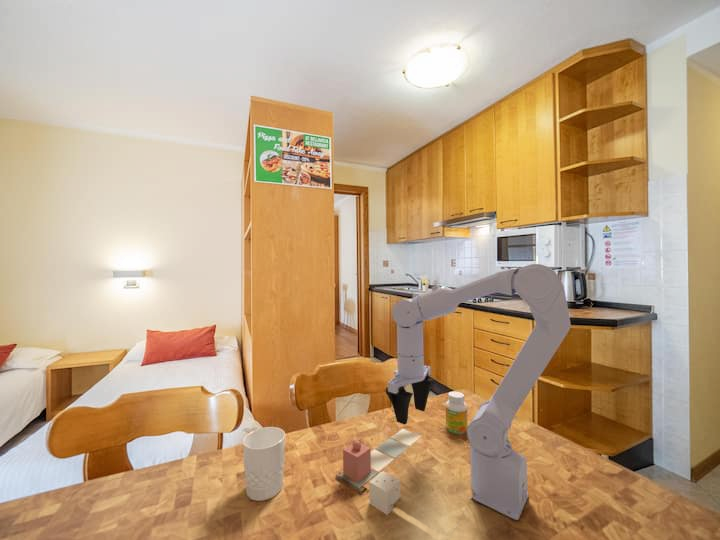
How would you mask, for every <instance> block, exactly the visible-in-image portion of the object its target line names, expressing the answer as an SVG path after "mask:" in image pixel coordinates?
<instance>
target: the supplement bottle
mask: <svg viewBox="0 0 720 540" xmlns="http://www.w3.org/2000/svg"><path fill="white" fill-rule="evenodd" d="M468 425H469V424H468V405H467V403H466V402H465V394H463V393H462V392H459V391H449V392H448V400H447V401H446V403H445V428H446V430H447V431H448V432H450V433H452V434H456V435H464V434H467V428H468Z"/></svg>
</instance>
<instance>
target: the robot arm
mask: <svg viewBox="0 0 720 540" xmlns="http://www.w3.org/2000/svg"><path fill="white" fill-rule="evenodd" d="M497 293H499V294H502V295H507V296H513V295H516V294H517V295H518V296H519V297H520V298H521V299H522V301H523V302H524V303H525V304H526V305H527V306H528V307H529V310H530V312H531V315H532V317H533V319H534V321H535V325H534V327H533V329H532V330H531V332H530V333H529V335H528V337H526V340H525V342H524V343H523V345H522V347H521V348H520V350H519V352H518V353H517V355H516V356H515V359H514V360H513V362H512V363H511V365H510V366H509V368H508V370H507V371H506V373H505V375H504V376H503V378H502V380H501V382H500V383H499V385H498V386H497V388H496V389H495V391H494V393H493V394H492V395H491V397H490V398H489V400H487V401H484V402H483V403H481V404H480V405H479V407H478V409H477V412H476V413H475V416H474V417H473V419H472V420H470V422H469V424H468V428H467V432H466V434H467V435H466V436H467V439H468V441H469V450H470V451H469V452H470V453H469V455H470V457H469V458H470V465H469V466H470V488H471V490H472V492H473V494H472V496H471V499H472V500H473V501H476V502H478V503H480V504H482V505H484V506H486V507H488V508H489V509H490V508H491V509H492V510H495V511H496V512H498V513H501V514H503V515H504V516H506V517H509V518H511V519H512V520H515V521H519V519H520V516H521V514H522V512H523V510H524V507H525V504H526V502H527V500H528V497H529V492H528V462H527V458H526V456H525V455H522V454H520V453H519V452H517V451H516V450H514V449H513V447H512V444H511V442H510V440H509V437H508V434H509V431H510V429H511V427H512V423H513V421H514V419H515V416H516V414H517V413H518V411H519V410H520V408H521V406H522V405H523V403H524V402H525V400H526V398H527V397H528V395H529V394H530V392H531V391H532V389H533V388H534V386H535V385H536V383H537V381H538V380H539V378H540V377H541V375H542V374H543V372H544V371H545V369H546V368H547V366H548V364H549V363H550V361H551V360H552V358H553V356H554V355H555V353H556V352H557V350H558V349H559V347H560V345H561V344H562V343H563V341H564V339H565V337H566V336H567V335H568V333H569V331H570V330H571V324H572V323H571V319H570V313H569V307H568V303H567V295H566V290H565V287H564V284H563V282H562V281H561V279H560V277H559V276H558V274H557V273H556V271H555V270H553V269H552V268H551V267H550V266H547V265H544V264H540V263H529V264H527V265H525V266H522V267H515V268H509V269H506V270H500V271H497V272H494V273H491V274H489V275H486V276H484V277H481V278H479V279H476V280H474V281H471V282H468V283H466V284H464V285H461V286H459V287H455V288H450V287H448V286H445V285H443V286H440V284H439V285H434V286H432V287H431V289H430V290H428V291H426V292H425V291H424V292H423V293H420V294H419V293H414V294H412V297H411V298H409V299H408V298H407V299H406V298H402V299H400V300H399V301H397V302H396V303H395V304H394V305H393V308H392V311H391V315H392V319H393V321H394V322H395V323H396V348H397V349H396V353H397V354H396V355H397V358H396V359H397V361H396V363H397V369H395V370H394V371H393V374H394V376H393V377H392V378H391V380H390V381H389V380H388V382H387V387H385V394H386V395H387V397H388V399H389V401H390V402H391V405H392V408H393V412H394V415H395V416H394V417H395V419H396V422H397V423H400V424H402V425H406V424H407V423H408V418H409V407H410V403H411V399H412V396H413V401H414V402H413V403H414V407H415V409H416V410H418V411H420V412H425V411H426V407H427V403H428V398H429V395H430V391H431V389H432V387H433V385H434V383H435V379H434V377H432V376H431V372H432V371H431V369H432V368H431V366H429V365H425V363H424V362H425V361H424V360H425V359H424V358H425V357H424V355H425V353H424V351H425V349H424V322H427V321H430V320H433V319H437V318H440V317H443V316H446V315H449V314H453V313H455V312H456V310H457V308H458V306H459V305H460V304H462V303H465V302H469V301H473V300H476V299H479V298H482V297H486V296H490V295H492V294H497ZM430 376H431V377H430ZM409 385H411V387H412V392H413V393H412V392H410V391H407V389H405V387H407V386H409Z"/></svg>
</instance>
